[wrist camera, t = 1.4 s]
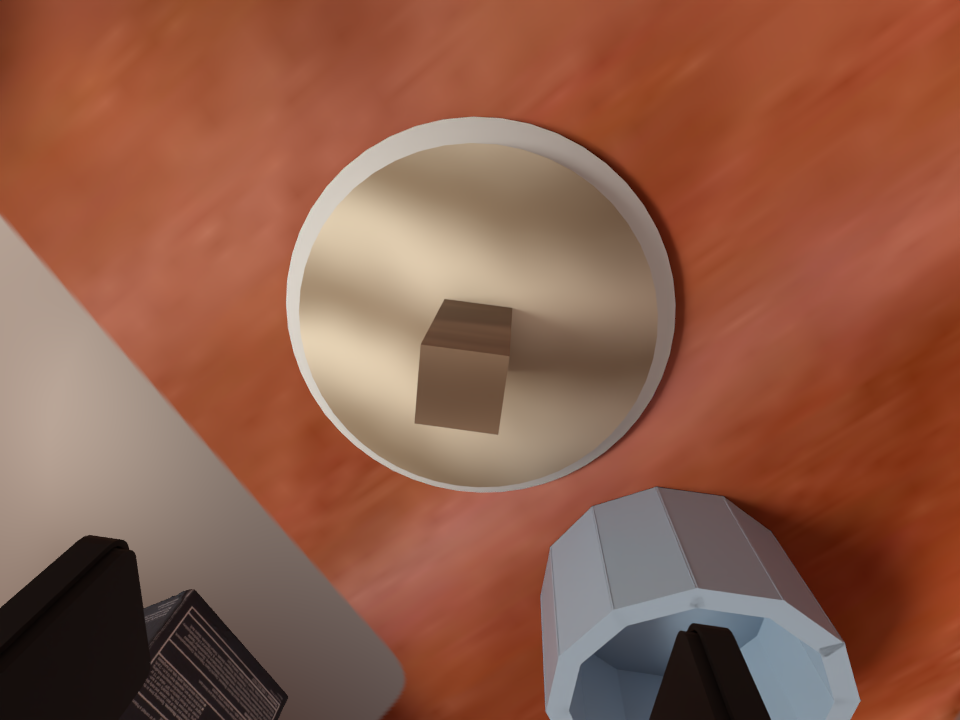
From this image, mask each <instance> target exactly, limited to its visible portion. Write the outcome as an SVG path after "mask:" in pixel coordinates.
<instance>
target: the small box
mask: <svg viewBox="0 0 960 720" xmlns="http://www.w3.org/2000/svg"><path fill="white" fill-rule="evenodd" d="M143 610H144V617H145V624H146V631H147V638H148V645H149V652H150V659H151V666H150V671H149V674H148V677H147V679H146V681H145V683H144V685H143V686H142V688H141V689H140V691H139V692H138V693H137V695H136V696H135V698H134V699H133V700H132V702H131V703H130V705H129V706H128V707H127V709H126V710H125V712H124V713H123V714H122V716H121V717H120V719H119V720H278V718H279V716H280V713H281V711H282V709H283V707H284V705H285V703H286V701H287V699H288V696H287V694H286V693H285V692H284V691H283V690H282V689H281V688H280V687H279V685H278V684H277V683H276V682H275V681H274V680H273V679H272V677H271V676H270V675H269V674H268V673H267V671H266V670H265V669H264V668H263V667H262V666H261V665H260V664H259V662H258V661H257V660H256V659H255V658H254V657H253V656H252V655H251V653H250V652H249V651H248V650H247V649H246V648H245V646H244V645H243V644H242V643H241V642H240V641H239V640H238V638H237V637H236V636H235V635H234V634H233V633H232V632H231V630H230V629H229V628H228V627H227V626H226V625H225V624H224V623H223V621H222V620H221V619H220V618H219V617H218V616H217V614H216V613H215V612H214V611H213V610H212V609H211V608H210V607H209V605H208V604H207V603H206V602H205V601H204V599H203V598H202V597H201V596H200V595H199V594H198V593H197V592H196V591H195V590H192V589H191V590H186V591H183V592H181V593H179V594H178V595H176V596H172V597H171V598H169V599H166V600H164V601H161V602H159V603H156V604H154V605H151V606H149V607H147V608H143Z"/></svg>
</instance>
